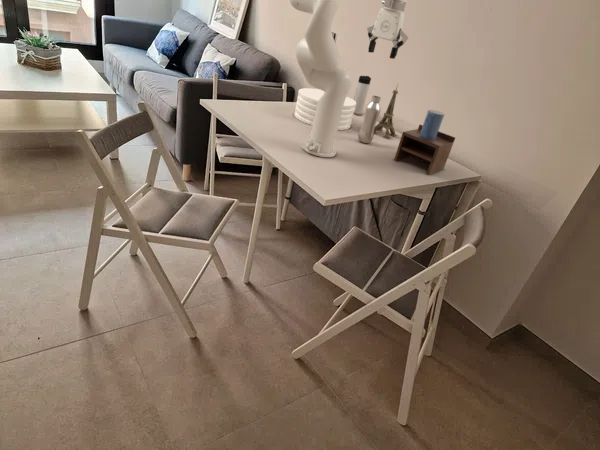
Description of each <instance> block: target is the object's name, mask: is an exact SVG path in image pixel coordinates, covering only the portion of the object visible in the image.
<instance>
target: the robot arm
mask: <svg viewBox="0 0 600 450" xmlns="http://www.w3.org/2000/svg"><path fill="white" fill-rule="evenodd" d="M407 1H408V0H382V1H381V5H383V7H381V8H380V9H379V12H378V14H377V16H376V19H375V22H374V24H372V25H370V26H368V27H367V36H368V39H369V45H368V49H367V52H368V53H373V54H374V52H375V49H376V45H377V40H378V39H383V40H386V41H391V42H392V45H393V46H392V47H391V50H390V53H389V59H396V57H397V55H398V51H399V49H400V48H401V47H402V46H403V45H405V43H406V42H407V40H409V36H408V35H407V34H406V33H405V32H404V31H403V28H404V24H405V13H406V12H404V11H405V8H406V4H407ZM289 2H290V4H291V6H292V7H293V8H294V10H297V11H299V12H303V13H308V14H310V15H311V17H310V18H309V21H308V23H307V25H306V28H305V30H304V37H303V38H301V39H300V40H299V42H298V43H297V46H296V51H295V56H296V61H297V63H298V66H299V68H300V70H301V72H302V74H303V76H304V78H305V80H306V82H307V83H308V85H310V87H313V88H314V89H320V90H323V91H324V92H325V93H324V95H323V96H322V97H321V98H320V99H319V101H318V103H317V106H316V111H315V116H314V121H313V125H311V129H310V130H311V131H310V136H309V138H308V140H307V142H304V143H302V144H301V149H303V150H304V151H305V152H306V153H308V154H311V155H312V156H316V157H320V158H333V157H335V156H336V153H337V152H336V149H334V145H335V141H336V138H337V133H338V130H337V129H338V125H339V121H340V117H341V113H342V109H343V105H344V102H345V99H346V96H347V97H348V94H349V91H350V90H351V87H352V83H353V77H352V74H351V73H350V71H349V70H348V69H345V68H344V67H341V66H340V61H341V59H340V58H341V57H340V52H339V50H338V47H337V44H336V41H335V39H334V36H333V32H332V25H333V21H334V18H335V16H336V13H337V10H338V7H339V3H340V0H289ZM401 38H402V39H401ZM400 39H401V40H400Z"/></svg>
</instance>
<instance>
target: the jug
mask: <svg viewBox="0 0 600 450" xmlns="http://www.w3.org/2000/svg"><path fill="white" fill-rule="evenodd" d="M445 115H446V114H445V112H444V113H443V112H441V111H439V110H435V109H428V110H427V112H426V115H425V117H424V121H423V124H422V125H423V126H422V129H421V132H420V136H421V137H423V138H426V139H429V140H435V139H436V137H437V134H438V131H439V132H440V129H441V126H442V123H443V120H444V117H445Z"/></svg>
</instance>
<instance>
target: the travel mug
mask: <svg viewBox="0 0 600 450" xmlns="http://www.w3.org/2000/svg"><path fill="white" fill-rule="evenodd" d="M371 81H372V77H370V76H369V75H359V77H358V80H357V84H356V89H355V91H354V96H353V100H354V101H356V106H355V111H354V112H353V113H354V115H355V116H362V114H363V112H364V111H363V110H364V109H365V108H364V107H365V104H366V101H367V97H368V93H369V88H370V85H371ZM354 115H353V116H354Z"/></svg>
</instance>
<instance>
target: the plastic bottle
mask: <svg viewBox="0 0 600 450" xmlns="http://www.w3.org/2000/svg"><path fill="white" fill-rule="evenodd" d="M381 99H382V98H381V96H378V95H372V96H371V98H370V102H368V104H366V106H364V107H365V108H364V116H363V121H362V123H361V127H360V130H359V131H358V134H357V139H358V141H359V142H362V143H365V144H371V143H372V142H373V140H374V136H375V134H374V129H375V126H376V125H377V121H378V119H379V117H380V113H381V111H382V110H381V106H380V103H381Z"/></svg>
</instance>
